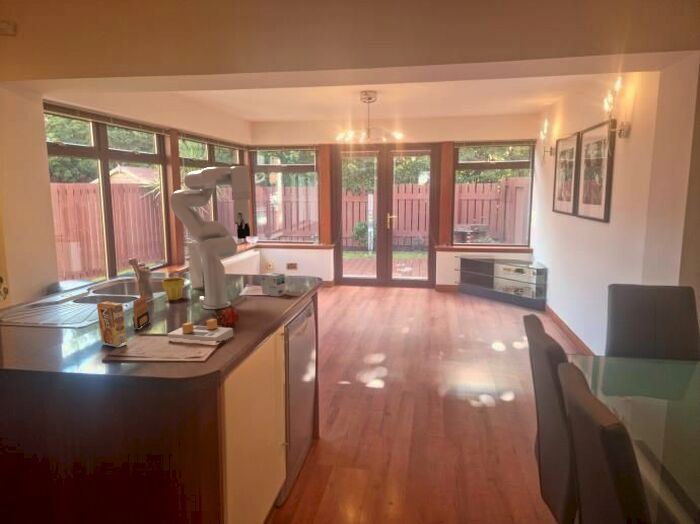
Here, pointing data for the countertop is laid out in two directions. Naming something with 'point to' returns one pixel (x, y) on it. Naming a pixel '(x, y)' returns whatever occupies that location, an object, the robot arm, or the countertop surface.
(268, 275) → the light bulb box
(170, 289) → the plant pot
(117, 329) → the candy box
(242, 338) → the countertop surface
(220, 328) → the switch panel
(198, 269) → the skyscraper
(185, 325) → the switch tab
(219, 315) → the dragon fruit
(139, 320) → the orange flat piece
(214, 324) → the switch tab
